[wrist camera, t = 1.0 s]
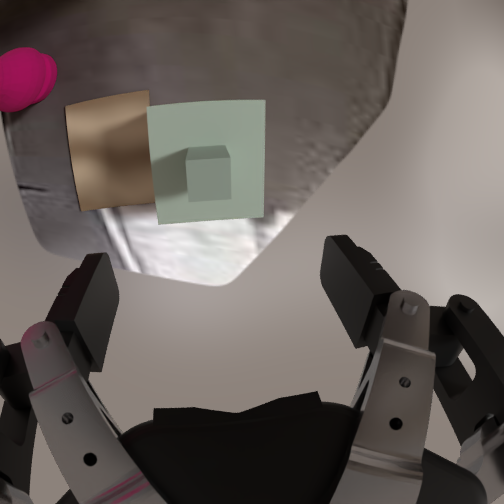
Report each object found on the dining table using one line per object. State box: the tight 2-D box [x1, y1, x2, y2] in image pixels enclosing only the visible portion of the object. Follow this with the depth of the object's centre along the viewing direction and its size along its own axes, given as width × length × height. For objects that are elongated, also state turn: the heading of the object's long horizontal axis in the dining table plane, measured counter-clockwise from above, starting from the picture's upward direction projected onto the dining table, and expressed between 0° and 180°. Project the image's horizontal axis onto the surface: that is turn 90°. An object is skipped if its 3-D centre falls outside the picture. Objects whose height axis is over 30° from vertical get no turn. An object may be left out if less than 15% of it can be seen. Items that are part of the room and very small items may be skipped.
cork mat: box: [65, 90, 155, 211], centre depth 29 cm, size 13×10×1 cm
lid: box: [147, 100, 265, 225], centre depth 23 cm, size 11×10×7 cm
